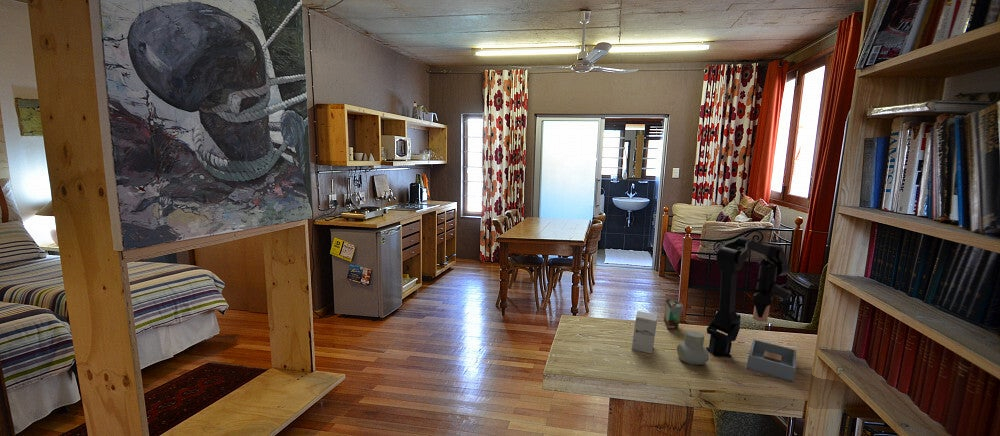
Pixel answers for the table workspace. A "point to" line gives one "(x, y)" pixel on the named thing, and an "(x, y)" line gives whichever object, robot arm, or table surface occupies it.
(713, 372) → the table surface
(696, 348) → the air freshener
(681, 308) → the food container
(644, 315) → the supplement box
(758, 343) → the tote
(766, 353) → the walnut cube
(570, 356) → the table surface
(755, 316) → the terracotta capsule
